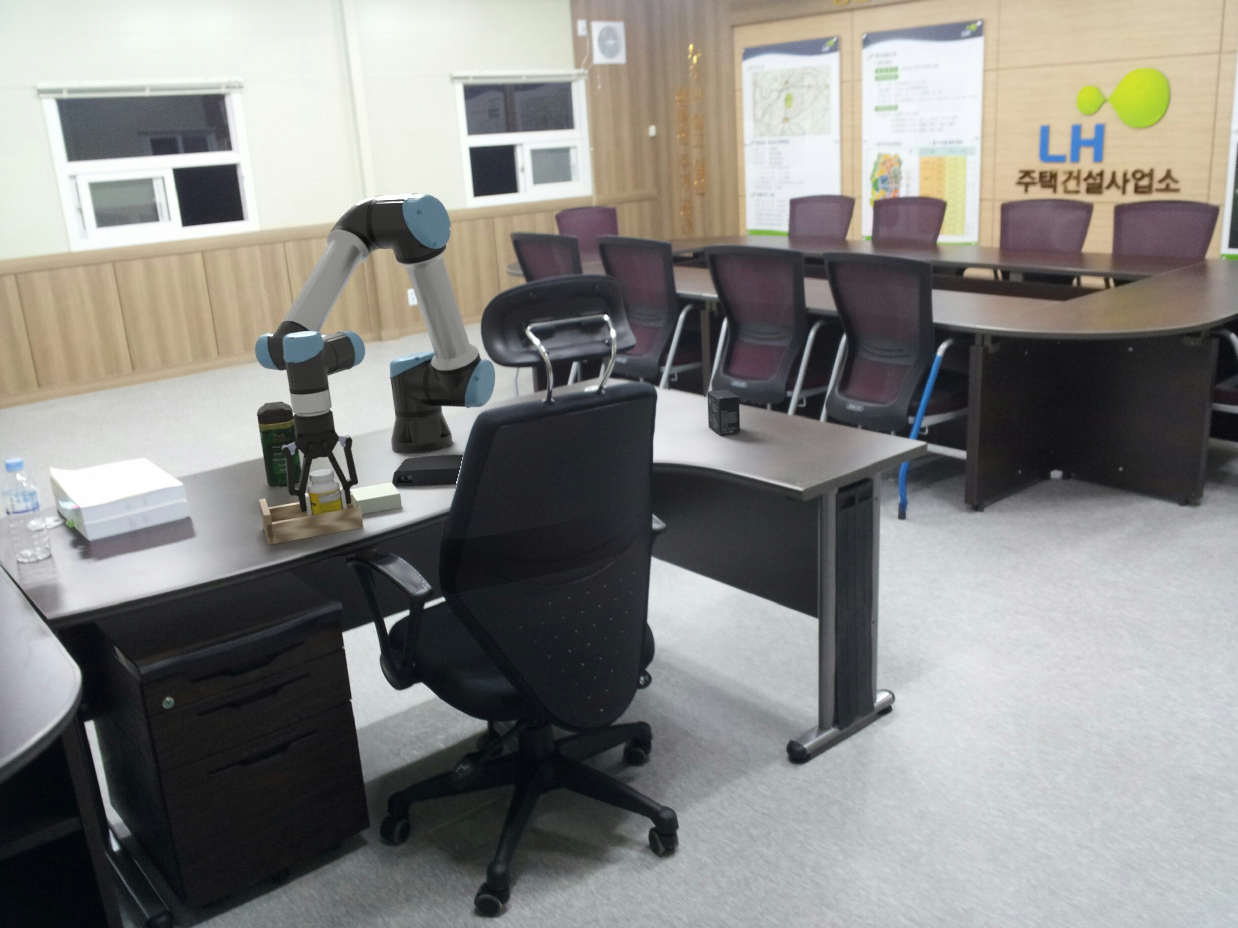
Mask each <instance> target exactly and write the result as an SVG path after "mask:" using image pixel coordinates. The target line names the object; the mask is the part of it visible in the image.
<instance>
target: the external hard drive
mask: <svg viewBox="0 0 1238 928" xmlns="http://www.w3.org/2000/svg"><path fill="white" fill-rule="evenodd" d="M463 455H464V454H435V455H423V456H416V457H415V456H414V457H408V458H405V459H404V460H403V461H402V462H401V463H400V464H399V466H398V467H397V468H396V470H395V471H394V472H393V476H392V481H391V482H392V484H393V485H394V486H395V487H396V488H397V487H401V488H404V487H405V488H406V487H411V488H412V487H433V486H434V487H436V486H452V485H456V486H457V484H456V481H457V478H458V474H459V470H460V466H461V461H462V457H463Z"/></svg>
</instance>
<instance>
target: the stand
mask: <svg viewBox="0 0 1238 928" xmlns="http://www.w3.org/2000/svg"><path fill="white" fill-rule="evenodd" d="M350 493H352V496H353V503H354V508H355V507H360V508H361V513H362V515H364V514H366V515H367V514H371V513H376V512H383V511H387V510H392V509H397V508H402V507H403V505H402V498H401V492H400V491H399V490H398V488H397V487H395V486H394V485H393V484H392V481H390V482H387V483H386V482H385V483H378V484H374V485H369V486H362V487H356V488H350Z"/></svg>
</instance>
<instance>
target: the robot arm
mask: <svg viewBox="0 0 1238 928" xmlns="http://www.w3.org/2000/svg"><path fill="white" fill-rule="evenodd" d="M450 228H451V221H450V216H449V213H448V211H447V209H446V207H445V206H444V203H442V201H441V200H440V199H439V198H437V197H435V196H433V195H431V194H424V193H417V192H415V193H414V192H413V193H409V194H394V195H393V194H392V195H372V196H369V197H366V198H364V199H361V200H360V201H358V202H357V203H355V204H354V205H352V206H351V207H350V208H349V209H348V210H347V211H346V212H345V213H344V214H343V215H342V216H341V217H340V218H339V219H338V220H337V221H336V222H335V224H334V226H333V227H332V229H331V230H330V232H329V234H328V235H327V237H326V239H327V240H326V241H327V246H326V248H325V249H324V251H323V253H322V254H321V256H320V258H319V259H318V261H317V262H316V264H315V266H314V267H313V269H312V271H311V273H310V275H308V278H307V279H306V281H305V283H304V284H303V286H302V287H301V289H300V291H299V292H298V294H297V296H296V298H295V299H294V301H293V303H292V304H291V306H290V307H289V309H288V311H287V312H286V313H285V315H284V318H283V319H282V321H281V323H280V324H279V326H278V327H277V329H276V331H274V332H272V331H271V332H268V333H264V334H262V335H260V336H259V337H258V338H257V340H256V342H255V346H254V354H255V359H256V361H257V362H258V363H259V364H260V366H262V367H263V368H264V369H266V370H267V369H268V370H275V371H281V372H282V371H286V377H287V381H288V387H289V388H288V391H289V396H290V406H291V408H292V411H293V419H294V426H295V432H296V437H295V440H294V442H293V443H291V444H289V445H283V446H282V450H283V453H284V455H285V459H286V473H287V487H286V488H287V492H288V494H289V495H290V496H296V497H298V502H299V504H300V509H301V511H302V512H305V511H306V512H307V516H310V515H312V511H311V504H310V497H309V495H308V492H307V488H308V482H309V481H308V480H309V478H310V476H309V474H310V473H311V467H312V466H311V465H312V462H313V460H316V459H318V458H328V461H329V462H330V464H331V466H332V468H333V471H334V472H335V474H336V476H337V479H338V480H339V482H340V484H341V486H339V487H340V494H341V502H342V509H343V510H344V509H347V506H346V504H351V495H350V489H352V487H353V486H357V485H358V483H359V479H358V474H357V469H356V466H355V465H356V464H355V461H354V455H353V451H352V446H353V439H352V437H351V436H350V435H349V434H346V435H338V433H337V431H336V427H335V420H334V413H333V412H334V411H332V410H331V408H332V406H333V405H332V404H333V403H332V398H331V390H330V385H329V384H330V383H329V378H328V377H329V376H331V375H334V374H337V373H340V372H344V371H347V370H351V369H352V368H354V367H357V366H358V365H360V364H361V363H362V362H363V360H364V359H365V355H366V346H365V343H364V341H363V339H362V337H360V335H358V333H356V332H354V331H352V330H344V331H337V332H335V333H320V331H321V330H322V328H323V326H324V324H325V322H326V321H327V320H328V317H329V316H330V314H331V312H332V310H333V309H334V307H335V305H336V303H337V301H338V300H339V298H340V297H341V295H342V293H343V292H344V290H345V288H346V286H347V285H348V283H349V281H350V280H351V278H352V276H353V274H354V272H355V271H356V269H357V267H358V266H359V264H362V263H364V262H366V261H367V259H368V258H369V256H370V254H371V253H373V252H375V251H378V250H381V249H382V250H392V251H393V254H394V257H395V260H396V262H397V263H398V264H400V265H402V266H404V267H405V268H406V271H407V274H408V277H409V280H410V283H411V287H412V289H413V292H414V295H415V298H416V302H417V305H418V307H419V310H420V314H421V317H422V319H423V322H424V326H425V328H426V331H427V334H428V336H429V337H428V338H429V340H430V343H431V346H432V349H433V351H431V350H430V351H422V352H415V353H411V354H406V355H403V356H399V357H397V358H395V359H393V360H392V361H390V363H389V380H390V385H391V393H392V400H393V407H394V408H393V409H394V416H395V417H394V418H395V420H394V422H393V423H394V424H393V429H392V434H391V441H390V442H391V448H392V450H393V451H395V452H398V453H403V454H404V453H405V454H417V453H428V452H433V451H437V450H441V449H444V448H446V447H449V446H451V445H452V443H453V434H452V431H451V429H450V427H449V424H448V423H447V420H446V418H445V416H444V414H443V407H454V408H457V407H459V408H467V409H470V408H482V407H484V406H485V405H486V404H487V403H488V402H489V401H490V400H491V398H492V396H493V392H494V390H495V386H496V385H495V384H496V369H495V365H494V364H493V363H492V361H490V360H488V359H487V358H483V359H482V357H481V354H480V351H479V349H478V347H477V346H476V345H475V344H471V343H470V341H469V340H470V339H469V338H468V334H467V330H466V328H465V324H464V321H463V318H462V314H461V312H460V309H459V304H458V303H457V299H456V295H455V292H454V289H453V286H452V282H451V279H450V277H449V273H448V269H447V267H446V264H445V260H444V257H443V256H444V254H445V252H446V250H447V244H448V242H449V240H450V237H451V233H452V232H451V229H450ZM338 443H340V446H341V447H342V448H343V452H344V457H345V462H346V465H347V466H346V467H347V472H348V476H349V478H348V479H347V477H346V476H345V474H344V472H343V470H342V468H341V466H340V464H339V463H338V460H337V458H336V457H335V455H334V452H333V451H334V449H335V447H336V446H337V444H338ZM295 448H298V449H299V452H301V453H302V454H303V458H302V463H301V475H300V480H299V483H298V484H297V485H298V487H296V484H295V479H294V465H293V457H292V455H294V454H295Z"/></svg>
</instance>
